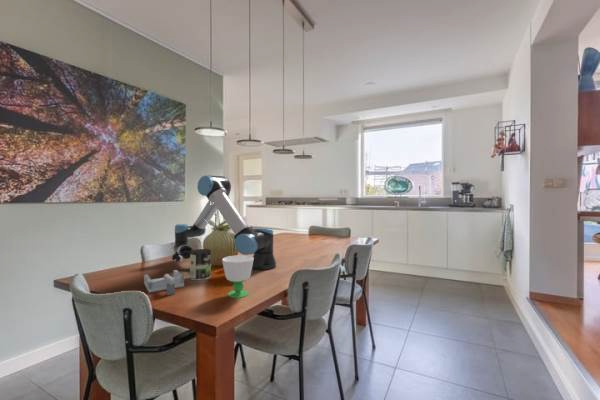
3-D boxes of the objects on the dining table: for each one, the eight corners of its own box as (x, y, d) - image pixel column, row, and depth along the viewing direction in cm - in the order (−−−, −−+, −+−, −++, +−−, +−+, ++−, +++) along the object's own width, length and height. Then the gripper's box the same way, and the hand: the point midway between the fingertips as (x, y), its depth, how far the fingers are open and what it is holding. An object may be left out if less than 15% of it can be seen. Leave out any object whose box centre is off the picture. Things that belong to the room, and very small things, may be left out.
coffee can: (214, 275, 158) (214, 249, 158) (204, 281, 148) (204, 253, 148) (197, 274, 160) (196, 248, 160) (186, 279, 150) (185, 252, 150)
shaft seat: (144, 283, 144) (143, 269, 143) (176, 278, 152) (176, 265, 152) (152, 298, 124) (152, 282, 124) (189, 291, 133) (188, 276, 133)
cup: (224, 301, 121) (224, 263, 120) (219, 291, 133) (219, 256, 133) (257, 297, 126) (257, 260, 126) (249, 287, 139) (249, 254, 138)
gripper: (205, 255, 186) (217, 261, 169) (163, 260, 172) (170, 268, 155) (205, 243, 186) (217, 248, 169) (162, 247, 172) (170, 254, 154)
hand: (195, 258), depth 162 cm, fingers open, 13 cm apart
